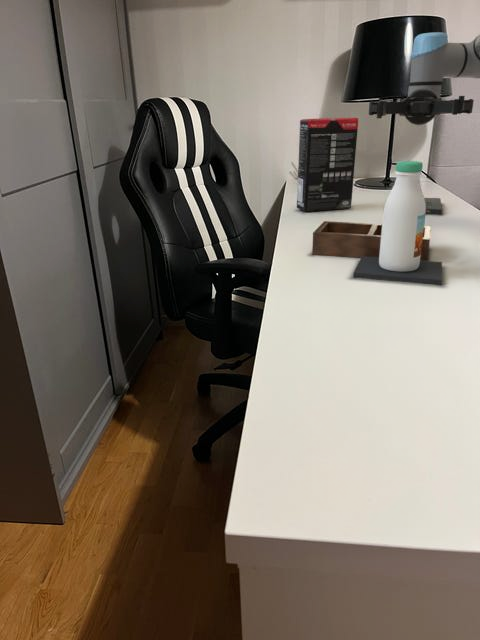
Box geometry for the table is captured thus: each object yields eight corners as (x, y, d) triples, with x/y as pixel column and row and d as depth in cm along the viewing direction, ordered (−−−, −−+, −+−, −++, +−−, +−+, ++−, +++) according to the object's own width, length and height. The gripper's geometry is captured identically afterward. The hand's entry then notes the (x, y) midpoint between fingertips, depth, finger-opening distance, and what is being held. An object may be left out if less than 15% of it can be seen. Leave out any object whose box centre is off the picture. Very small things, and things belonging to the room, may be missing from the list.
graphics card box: (343, 205, 166) (347, 117, 156) (353, 208, 160) (359, 117, 150) (295, 209, 161) (297, 118, 151) (305, 213, 155) (307, 119, 145)
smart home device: (413, 207, 151) (414, 196, 168) (412, 213, 151) (413, 202, 169) (442, 208, 148) (440, 197, 165) (441, 214, 149) (440, 202, 166)
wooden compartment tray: (428, 248, 115) (430, 226, 113) (426, 263, 105) (430, 239, 103) (323, 241, 123) (324, 221, 121) (312, 254, 112) (312, 232, 111)
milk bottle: (402, 275, 94) (414, 165, 86) (370, 266, 100) (379, 162, 92) (427, 267, 98) (440, 161, 91) (395, 259, 104) (405, 158, 96)
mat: (441, 266, 102) (441, 261, 102) (441, 285, 92) (442, 279, 91) (361, 260, 107) (362, 256, 107) (353, 277, 97) (353, 272, 97)
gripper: (478, 123, 112) (485, 128, 94) (364, 125, 120) (351, 129, 102) (483, 86, 109) (492, 83, 91) (367, 90, 117) (353, 88, 99)
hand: (417, 107), depth 96 cm, fingers open, 13 cm apart
